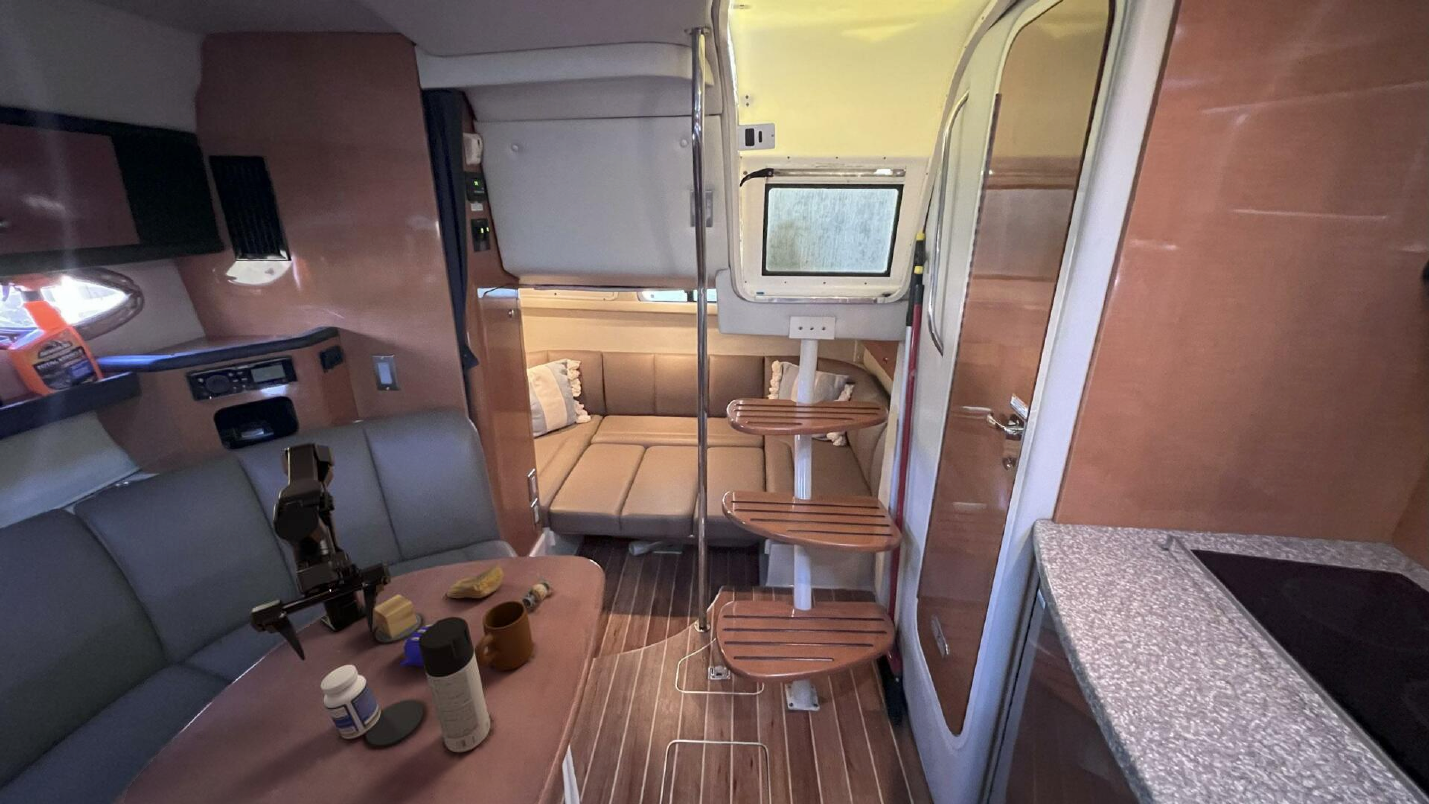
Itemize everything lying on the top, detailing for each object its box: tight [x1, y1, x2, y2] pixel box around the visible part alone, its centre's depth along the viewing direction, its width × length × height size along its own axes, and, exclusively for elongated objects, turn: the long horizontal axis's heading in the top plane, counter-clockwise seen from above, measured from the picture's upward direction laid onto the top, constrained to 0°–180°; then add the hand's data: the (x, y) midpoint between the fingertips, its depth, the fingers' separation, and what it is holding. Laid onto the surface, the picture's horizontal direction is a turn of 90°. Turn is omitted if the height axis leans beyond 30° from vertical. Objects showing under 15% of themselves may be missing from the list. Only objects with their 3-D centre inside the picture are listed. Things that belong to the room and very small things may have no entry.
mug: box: [474, 600, 534, 671], centre depth 95 cm, size 12×8×9 cm, turn 165°
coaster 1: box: [374, 612, 422, 644], centre depth 106 cm, size 8×8×1 cm
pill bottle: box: [320, 664, 382, 740], centre depth 83 cm, size 6×6×10 cm
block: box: [374, 593, 417, 638], centre depth 105 cm, size 5×5×5 cm
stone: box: [447, 564, 505, 599], centre depth 116 cm, size 9×5×10 cm
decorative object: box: [398, 624, 433, 667], centre depth 97 cm, size 10×6×10 cm
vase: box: [521, 572, 555, 609], centre depth 111 cm, size 5×5×6 cm
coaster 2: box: [365, 700, 424, 748], centre depth 85 cm, size 8×8×1 cm
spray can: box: [419, 616, 491, 753], centre depth 80 cm, size 7×7×20 cm
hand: (338, 645), depth 86 cm, fingers open, 9 cm apart
